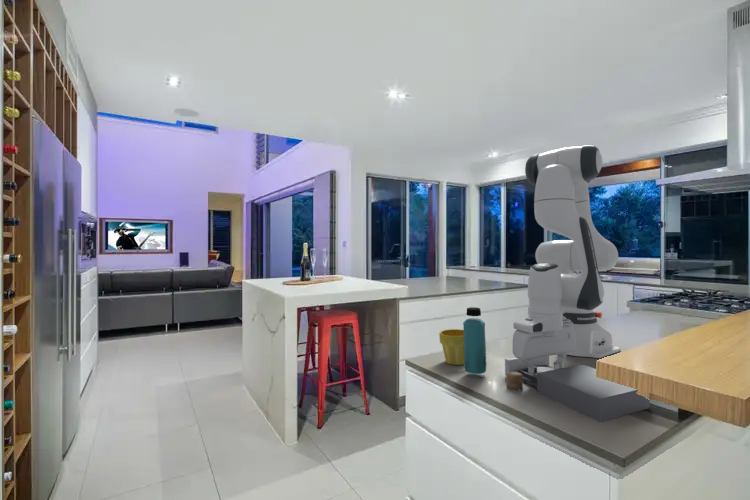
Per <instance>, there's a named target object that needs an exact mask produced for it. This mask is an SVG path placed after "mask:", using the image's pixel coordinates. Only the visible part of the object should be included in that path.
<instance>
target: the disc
mask: <svg viewBox="0 0 750 500" xmlns="http://www.w3.org/2000/svg"><path fill="white" fill-rule="evenodd" d="M553 368H554V367H553ZM553 368H549V367H537V373H539V372H545V371H550V370H555V369H553ZM537 373H536V374H533V375H534V376H536V377H537Z"/></svg>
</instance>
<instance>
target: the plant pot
mask: <svg viewBox="0 0 750 500" xmlns="http://www.w3.org/2000/svg"><path fill="white" fill-rule="evenodd" d="M439 343H440V344H441V347H442V351H443V354H444V358H445V363H447V364H448V365H455V366H459V365H460V366H462V365H464V350H463V349H464V346H463V345H464V329H459V328H458V329H457V328H455V329H454V328H453V329H452V328H450V329H444V330H441V331H439Z"/></svg>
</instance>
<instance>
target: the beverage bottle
mask: <svg viewBox="0 0 750 500" xmlns="http://www.w3.org/2000/svg"><path fill="white" fill-rule="evenodd" d="M466 316H468V317H470V318H466V319H465V320H464V321H463V322H462V325H463V326H462V327H463V330H464V345H463V346H464V349H463V350H464V364H463V367H464V372H466V373H469V374H472V375H473V374H474V375H479V374H485V373H486V372H487V366H488V365H487V345H486V343H487V342H486V323H485V321H484V320H482V319H481V318H477V317H481V316H482V311H481V308H480V307H475V306H474V307H470V306H469V307H467V308H466Z"/></svg>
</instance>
